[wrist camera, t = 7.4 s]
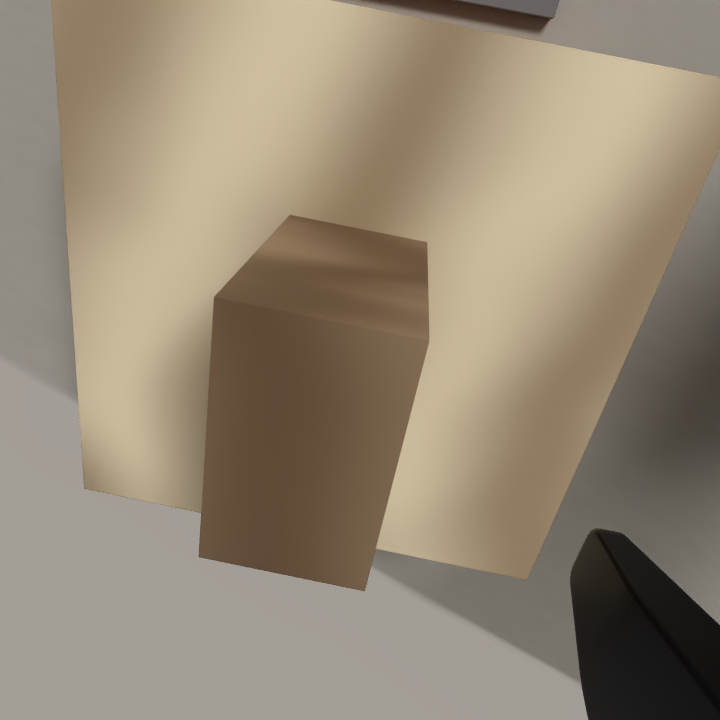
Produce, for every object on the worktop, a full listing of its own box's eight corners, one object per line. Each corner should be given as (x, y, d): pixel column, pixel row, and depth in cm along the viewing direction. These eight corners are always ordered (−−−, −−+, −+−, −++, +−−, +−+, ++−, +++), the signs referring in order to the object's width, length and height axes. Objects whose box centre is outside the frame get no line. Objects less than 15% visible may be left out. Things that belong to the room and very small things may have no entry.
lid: (718, 81, 11) (995, 92, 6) (520, 548, 17) (565, 770, 12) (82, -45, 11) (-234, -150, 6) (104, 463, 17) (-42, 643, 12)
